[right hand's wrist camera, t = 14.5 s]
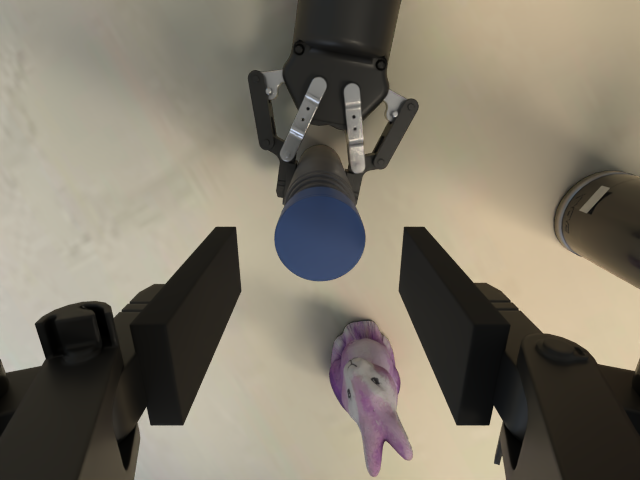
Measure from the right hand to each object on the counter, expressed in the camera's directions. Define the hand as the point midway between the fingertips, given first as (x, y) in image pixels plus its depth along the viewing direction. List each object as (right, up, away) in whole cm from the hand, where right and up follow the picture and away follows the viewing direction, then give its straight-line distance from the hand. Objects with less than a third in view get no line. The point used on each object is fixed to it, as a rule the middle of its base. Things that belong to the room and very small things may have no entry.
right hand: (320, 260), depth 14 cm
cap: (0, +1, +2) cm, 3 cm away
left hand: (0, +4, +18) cm, 19 cm away
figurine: (+5, -13, +31) cm, 34 cm away
